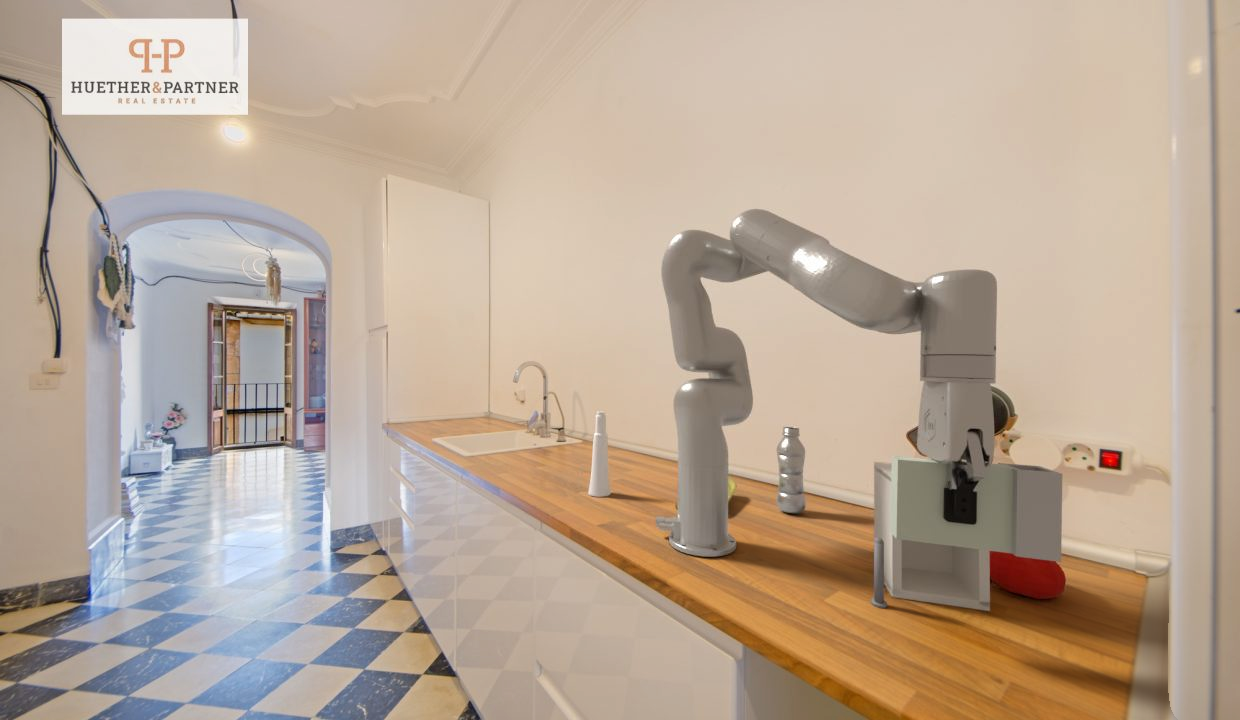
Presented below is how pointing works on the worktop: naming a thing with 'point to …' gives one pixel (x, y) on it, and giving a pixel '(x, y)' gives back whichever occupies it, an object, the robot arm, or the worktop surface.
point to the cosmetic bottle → (600, 460)
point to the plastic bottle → (791, 472)
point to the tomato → (1027, 575)
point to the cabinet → (923, 562)
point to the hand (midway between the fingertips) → (953, 516)
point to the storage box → (980, 508)
